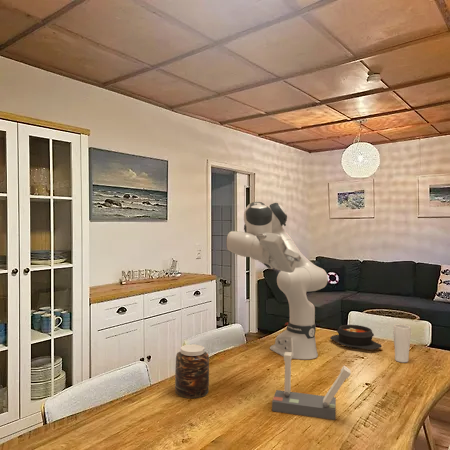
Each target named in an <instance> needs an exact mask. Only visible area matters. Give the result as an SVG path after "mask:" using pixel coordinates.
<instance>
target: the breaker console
mask: <svg viewBox="0 0 450 450" xmlns="http://www.w3.org/2000/svg"><path fill="white" fill-rule="evenodd" d="M325 396H326V395H318V394H317V395H316V394H310V393H303V392H295V391H290V394H289V396H288V397H286V396H285V394H284V390H280V389H276V390H275V393H274V394H273V398H272V401H271V412H275V413H276V412H277V413H281V414H282V413H283V414H289V415H290V414H291V415H298V416H304V417H309V418H310V417H311V418H318V419H326V420H332V421H333V420H334V421H336V412H337V411H336V410H337V409H336V404H337V402H336V401H337V398H336V397H335V396H334V397H333V399H332V400H331V402H330V403H329V405H328V406H327V407H324V406H323V399H324V397H325Z"/></svg>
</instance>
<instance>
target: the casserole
mask: <svg viewBox="0 0 450 450" xmlns="http://www.w3.org/2000/svg"><path fill="white" fill-rule="evenodd" d="M336 332H337V334H336V335H334V334H333V335H332V336H330V337H329V338H330V340H332V341H334V342H335V343H337V344H339V345H341V346H344V347H346V348H349V349H356V350H361V349H362V350H366V351H367V350H368V351H371V350H377V349H380V348H382V344H380V343H378V342H375V341H374V340H373V337H374V336H375V335H374V333H373V330H372V329H371V328H370V327H368V326H364V325H359V324H357V325H356V324H344V325H340V326H339V327H338V329H337V331H336Z"/></svg>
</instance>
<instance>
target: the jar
mask: <svg viewBox="0 0 450 450" xmlns="http://www.w3.org/2000/svg"><path fill="white" fill-rule="evenodd" d="M174 369H175V372H174V373H175V374H174V375H175V376H174V377H175V379H174V380H175V381H174V385H175V386H174V393H175V394H176V395H177V396H179V397H180V398H184V399H199V398H202V397H205V396H207V395H208V394H209V389H210V388H209V387H210V357H209V353H208V352H207V351H205V347H204V345H200V344H195V343H194V344H193V343H192V344H185V345H182V346H181V347H180V351H178V352H177V353H176V355H175V368H174Z"/></svg>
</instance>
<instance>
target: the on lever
mask: <svg viewBox="0 0 450 450" xmlns="http://www.w3.org/2000/svg"><path fill="white" fill-rule="evenodd" d="M351 375H352V372H351V368H348V367H347V366H346V365H343V366H342V368H341V369H340V372H339V373H338V376H337V377H336V379H335V380H334V382H333V383H332V385H331V387H330V388H329V389H328V391H327V392H326V393H325V395H324V396H325V397H324V399H323V406H324V407H327V406H328V405H329V403H330V402H331V400H332V399H333V397H335V396H336V395H337V393H338V392H339V390H340V388H341V387H342V385H343V384H344V382H345V381H346V379H349V377H350V376H351Z"/></svg>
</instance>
